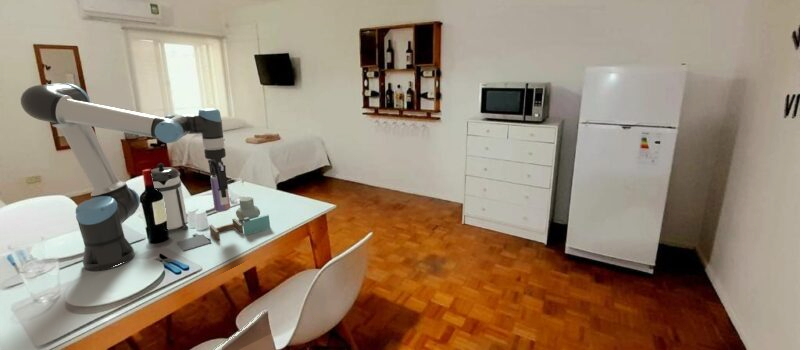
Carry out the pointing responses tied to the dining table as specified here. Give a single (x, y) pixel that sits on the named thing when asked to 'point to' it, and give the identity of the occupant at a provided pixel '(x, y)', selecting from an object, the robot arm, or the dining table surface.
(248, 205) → the air freshener
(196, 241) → the mat
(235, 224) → the holder
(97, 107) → the robot arm
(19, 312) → the dining table surface
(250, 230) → the teal box
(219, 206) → the beverage can
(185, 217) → the coffee press
